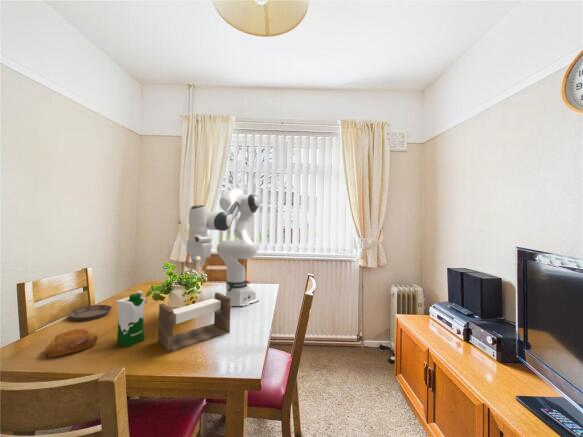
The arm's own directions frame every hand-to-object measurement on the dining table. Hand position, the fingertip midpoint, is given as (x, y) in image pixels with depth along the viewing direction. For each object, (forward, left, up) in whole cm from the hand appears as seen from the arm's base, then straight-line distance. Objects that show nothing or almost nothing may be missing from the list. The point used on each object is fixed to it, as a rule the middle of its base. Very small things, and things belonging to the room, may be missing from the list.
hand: (197, 264), depth 129 cm
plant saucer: (+38, -44, -30) cm, 65 cm away
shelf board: (+8, +16, -19) cm, 26 cm away
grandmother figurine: (+19, -30, -30) cm, 46 cm away
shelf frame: (+8, +16, -29) cm, 34 cm away
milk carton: (+30, +2, -30) cm, 42 cm away
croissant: (+47, -8, -30) cm, 56 cm away
